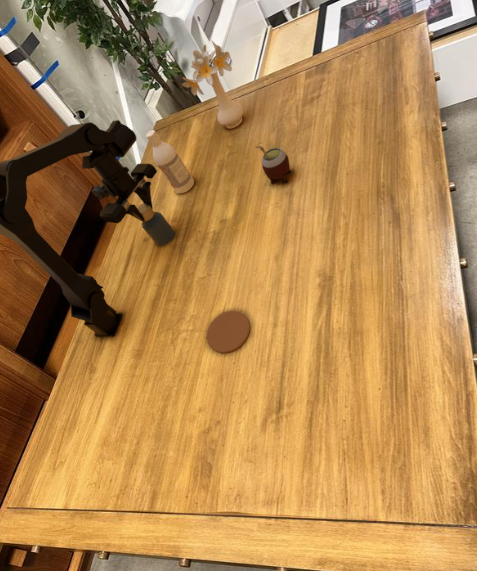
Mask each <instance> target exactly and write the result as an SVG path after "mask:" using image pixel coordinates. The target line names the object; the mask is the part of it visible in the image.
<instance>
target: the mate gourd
mask: <svg viewBox="0 0 477 571" xmlns="http://www.w3.org/2000/svg"><path fill="white" fill-rule="evenodd" d="M255 148H256V149H259V150H260V151H261V152H262V153H263V155H262V158H261V166H262V170H263V172H264V173H265V176H266V177H267V178H268V180H269V181H270V184H271V185H274V184H275V183H277V182H279V181H281V182H283V183H284V185H285V184H287V183H288V180H287V179H286V177H287V176H288V175H290V174H292V170H291V169H290V159H289V156H288V155H287V153H286V151H284V150H283V149H282V148H280V147H273V148H270V149H268V150H265V148H264V146H261V145H256V146H255Z"/></svg>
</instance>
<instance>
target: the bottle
mask: <svg viewBox="0 0 477 571" xmlns="http://www.w3.org/2000/svg"><path fill="white" fill-rule="evenodd" d="M141 227H142V229H143V230H144V232H146V234H147V235H148V236H149V238H151V239H152V241H153V242H154V243H155V244H156V245H157V246H159V247H161V246H165V245H168V244H169V243H171V241H173V239H174V238H175V235H176V231H175V229H173V227H172V225H171V224H170V223H169V222H168V221H167V219H166V218H165V216H164V215H163V214H162V213H161V212H160V211H159V212H158V211H154V216H153V217H152V218H151V219H150V220H148V221H141Z"/></svg>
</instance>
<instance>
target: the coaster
mask: <svg viewBox="0 0 477 571" xmlns="http://www.w3.org/2000/svg"><path fill="white" fill-rule="evenodd" d="M250 332H251V324H250V320H249V319H248V317H247V316H246V315H245V314H244V313H243V312H241V311H237V310H227V311H225V312H222V313H221V314H219V315H217V316H216V317H214V319H213V320H212V321H211V322H210V324H209V326H208V328H207V331H206V341H207V344H208V346H209V347H210V348H211V349H212V350H213V351H215V352H217V353H220V354H228V353H232V352H235V351H236V350H238V349H239V348H241V347H242V346H243V345H244V344H245V343H246V341H247V340H248V338H249V335H250Z"/></svg>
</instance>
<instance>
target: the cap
mask: <svg viewBox="0 0 477 571" xmlns="http://www.w3.org/2000/svg"><path fill="white" fill-rule="evenodd" d="M137 209H138V210H139V212H140V213H141V215H142V216H143V218H144V220H145V221H148V220H150V219H151V218H152V217H153V216H154V212H155V211H154V209H152V208H151V207H150V206H149V205H148V204H147V203H143V202H142V203H140V204H139V205H138V206H137Z"/></svg>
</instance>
